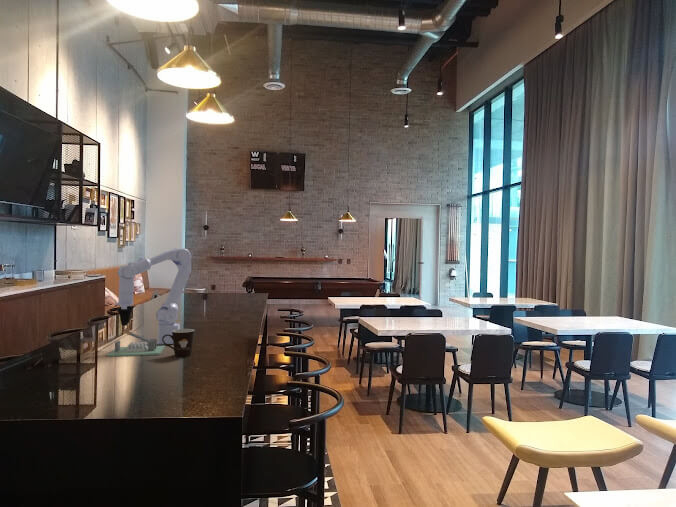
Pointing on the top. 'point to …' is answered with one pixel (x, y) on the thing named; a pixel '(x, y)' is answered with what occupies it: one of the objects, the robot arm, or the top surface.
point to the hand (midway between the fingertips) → (125, 324)
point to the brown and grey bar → (137, 336)
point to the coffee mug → (181, 342)
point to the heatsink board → (136, 349)
